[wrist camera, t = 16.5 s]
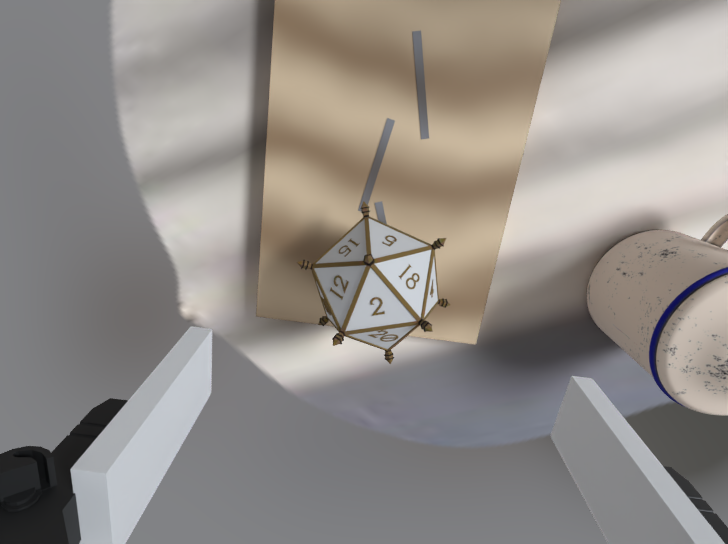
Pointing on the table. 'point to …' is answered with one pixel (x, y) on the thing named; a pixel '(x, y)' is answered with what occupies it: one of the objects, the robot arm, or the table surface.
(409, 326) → the game die
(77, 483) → the robot arm
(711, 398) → the teacup with lid
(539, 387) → the table surface
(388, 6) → the board
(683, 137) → the table surface
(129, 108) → the table surface
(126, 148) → the table surface
